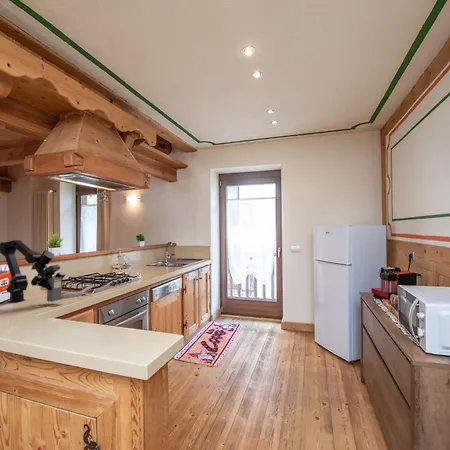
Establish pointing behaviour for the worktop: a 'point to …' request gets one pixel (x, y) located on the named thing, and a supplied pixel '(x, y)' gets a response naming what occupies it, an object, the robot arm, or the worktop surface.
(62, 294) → the mobile phone
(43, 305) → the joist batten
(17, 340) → the worktop surface
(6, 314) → the worktop surface
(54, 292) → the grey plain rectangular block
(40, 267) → the robot arm
